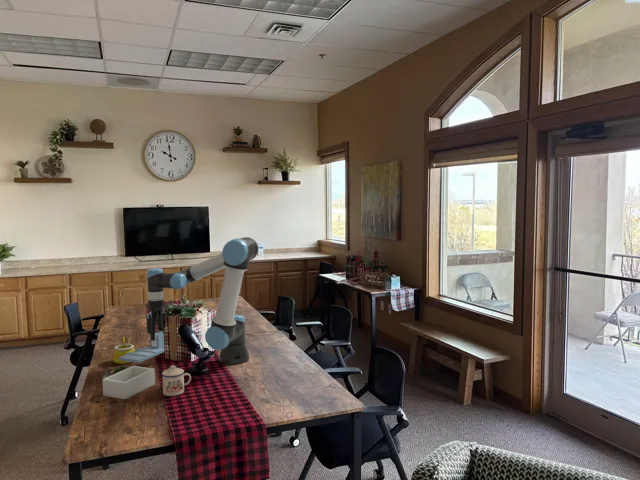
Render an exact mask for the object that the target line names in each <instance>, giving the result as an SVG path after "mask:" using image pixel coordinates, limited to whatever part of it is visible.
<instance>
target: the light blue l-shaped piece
mask: <svg viewBox="0 0 640 480" xmlns="http://www.w3.org/2000/svg"><path fill="white" fill-rule="evenodd" d="M155 334H157V347H153V346H152V341H151V334H149V337H150V339H149V340H150V347H149V346H143V347H141V348H136V349H135V351H133V352H131V353H130V352H128V353H127V354H126V355H123V356H121V357H119V360H123V361H129V362H130V363H138V364H139V363H142V362H144V361H147V360H148V359H152V358H154V357H156V356H158V355H160V354H163V353H164V352H165V351H166V350H165V337H164V335H165V334H164V332H163V333H159V332H158V331H156V332H155Z"/></svg>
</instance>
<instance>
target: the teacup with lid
mask: <svg viewBox="0 0 640 480" xmlns="http://www.w3.org/2000/svg"><path fill="white" fill-rule="evenodd" d="M161 376H162V393H163V395H164V396H166V397H174V396H175V397H177V396H178V395H179V396H180V395H182V394H183V393H184V392H185V386H187V385H188V384H190V382H191V381H192V376H191V374H190V373H188V372H185V370H184V369H182V368H179V367H176V365H174V364H172V365H170V366H169V367H168V368H167V369H165V370H163V371H162V372H161ZM185 376H188V381H187V382H185V378H184V377H185Z"/></svg>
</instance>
